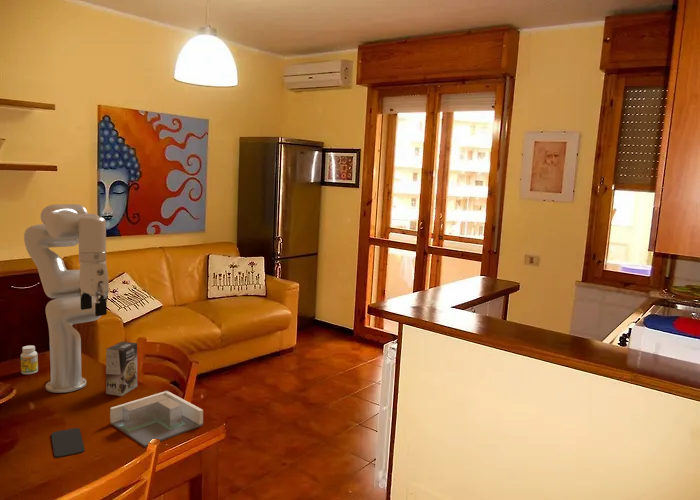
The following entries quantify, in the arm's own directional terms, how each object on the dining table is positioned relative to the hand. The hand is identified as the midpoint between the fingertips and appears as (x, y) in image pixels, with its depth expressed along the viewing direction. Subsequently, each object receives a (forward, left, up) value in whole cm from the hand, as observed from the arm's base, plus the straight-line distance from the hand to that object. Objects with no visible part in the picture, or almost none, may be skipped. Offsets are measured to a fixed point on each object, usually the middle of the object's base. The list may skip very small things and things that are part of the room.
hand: (93, 312), depth 166 cm
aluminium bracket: (+21, +7, -32) cm, 39 cm away
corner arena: (+21, +9, -32) cm, 40 cm away
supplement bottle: (-48, -2, -32) cm, 58 cm away
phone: (+14, -14, -33) cm, 39 cm away
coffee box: (-10, +14, -32) cm, 37 cm away
